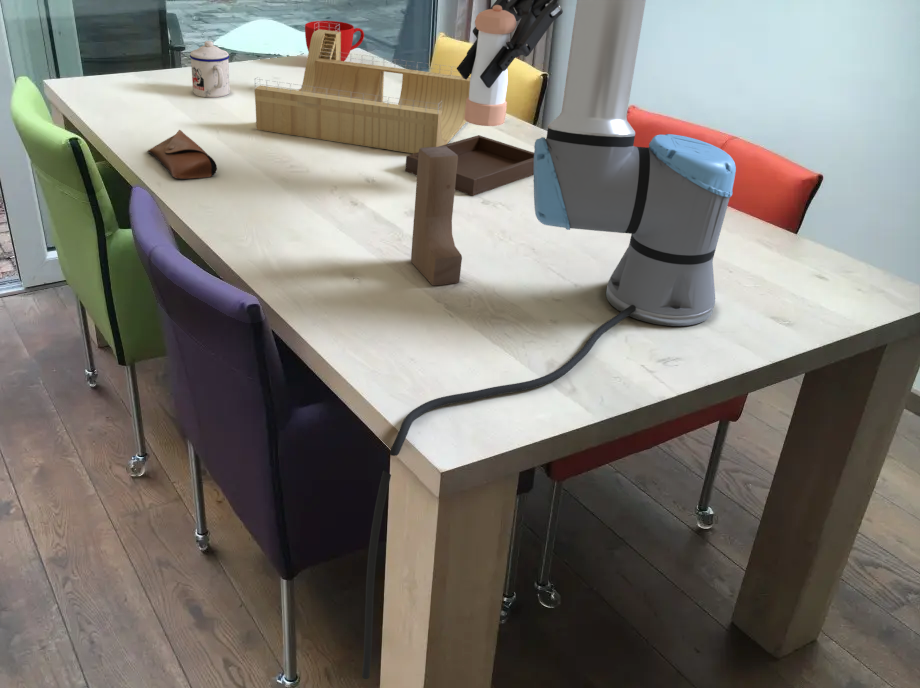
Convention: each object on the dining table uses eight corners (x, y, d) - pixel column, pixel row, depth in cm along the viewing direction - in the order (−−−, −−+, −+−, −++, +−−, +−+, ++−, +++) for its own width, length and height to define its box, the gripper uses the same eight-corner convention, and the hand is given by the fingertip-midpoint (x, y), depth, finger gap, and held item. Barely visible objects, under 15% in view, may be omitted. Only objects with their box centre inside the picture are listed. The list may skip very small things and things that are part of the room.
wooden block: (460, 283, 135) (472, 165, 125) (432, 286, 133) (442, 167, 123) (436, 259, 141) (446, 145, 132) (409, 262, 140) (417, 147, 130)
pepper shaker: (455, 118, 162) (466, 3, 151) (484, 112, 166) (497, -1, 156) (484, 128, 158) (498, 11, 147) (513, 122, 162) (528, 7, 151)
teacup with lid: (187, 89, 217) (183, 38, 210) (223, 86, 221) (220, 36, 214) (203, 102, 208) (200, 49, 202) (240, 99, 212) (238, 47, 205)
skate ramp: (255, 134, 193) (252, 55, 184) (318, 91, 221) (318, 21, 212) (434, 161, 183) (440, 80, 174) (477, 113, 211) (484, 41, 202)
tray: (472, 196, 166) (474, 179, 164) (405, 171, 175) (406, 155, 174) (543, 171, 179) (545, 156, 177) (477, 149, 189) (478, 134, 187)
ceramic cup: (374, 67, 244) (375, 28, 239) (318, 72, 237) (318, 32, 231) (351, 56, 254) (352, 18, 248) (296, 61, 246) (296, 22, 241)
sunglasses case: (143, 149, 177) (158, 118, 175) (174, 163, 181) (189, 133, 180) (174, 179, 164) (190, 145, 162) (207, 193, 169) (222, 161, 167)
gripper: (603, -6, 151) (518, 105, 152) (528, -24, 164) (449, 79, 165) (586, -40, 146) (498, 76, 147) (509, -55, 158) (429, 52, 159)
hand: (473, 78), depth 156 cm, fingers closed on pepper shaker, 5 cm apart
